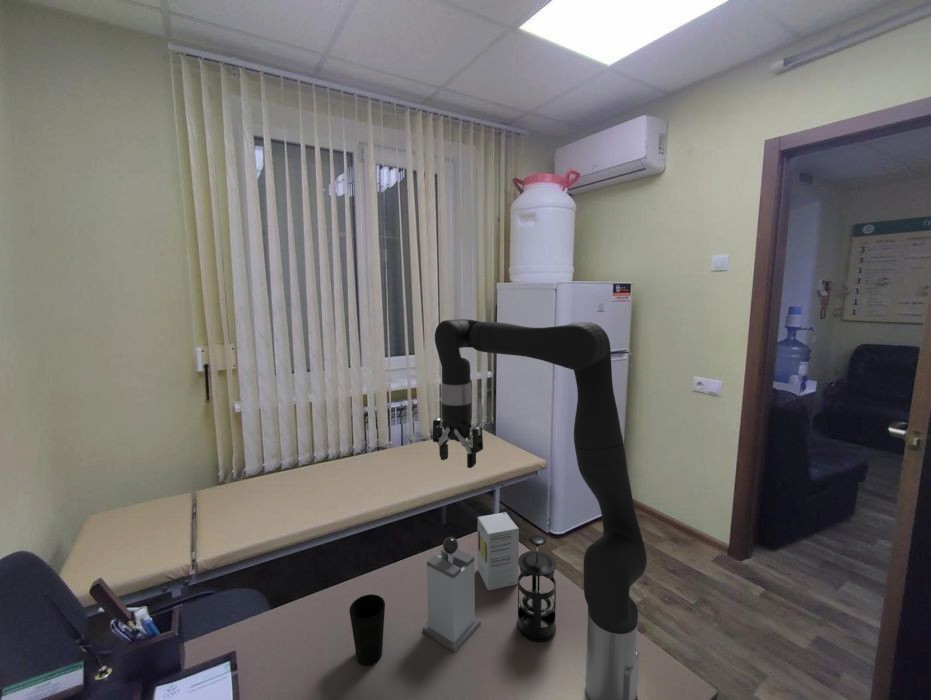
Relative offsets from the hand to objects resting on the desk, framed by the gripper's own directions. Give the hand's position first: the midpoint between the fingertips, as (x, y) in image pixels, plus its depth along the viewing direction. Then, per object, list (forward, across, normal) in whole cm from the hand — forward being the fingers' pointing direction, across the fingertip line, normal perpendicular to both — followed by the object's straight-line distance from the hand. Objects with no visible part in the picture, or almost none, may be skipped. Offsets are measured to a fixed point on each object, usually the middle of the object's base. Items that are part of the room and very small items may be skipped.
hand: (457, 463), depth 103 cm
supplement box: (+38, -3, -14) cm, 41 cm away
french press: (+38, -20, -5) cm, 43 cm away
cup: (+38, +6, +25) cm, 46 cm away
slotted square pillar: (+38, -4, +8) cm, 39 cm away
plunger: (+31, -4, +8) cm, 33 cm away
